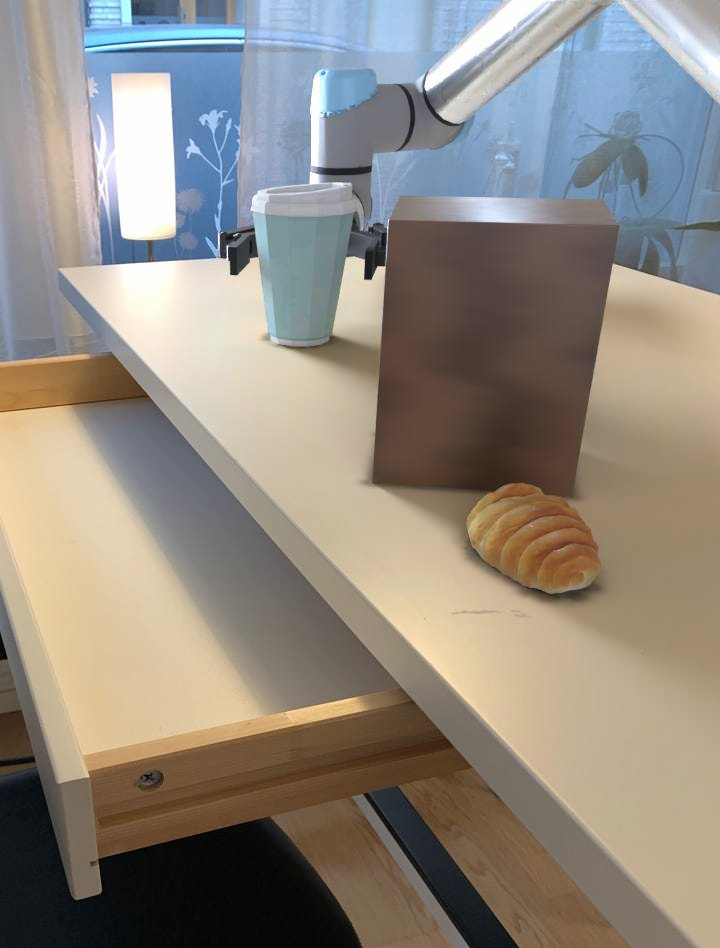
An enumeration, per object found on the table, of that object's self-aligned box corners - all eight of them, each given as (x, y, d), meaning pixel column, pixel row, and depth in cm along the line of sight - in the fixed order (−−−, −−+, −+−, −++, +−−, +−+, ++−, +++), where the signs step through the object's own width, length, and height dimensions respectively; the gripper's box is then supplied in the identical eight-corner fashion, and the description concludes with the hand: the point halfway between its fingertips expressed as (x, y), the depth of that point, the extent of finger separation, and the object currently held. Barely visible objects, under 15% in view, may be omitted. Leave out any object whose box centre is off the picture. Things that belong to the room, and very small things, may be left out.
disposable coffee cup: (236, 349, 104) (234, 189, 96) (267, 322, 112) (267, 174, 104) (338, 357, 101) (344, 193, 93) (361, 329, 109) (369, 177, 101)
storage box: (553, 390, 91) (587, 171, 82) (571, 498, 71) (619, 225, 62) (396, 382, 94) (412, 169, 84) (372, 484, 74) (388, 220, 64)
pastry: (628, 591, 60) (640, 533, 58) (524, 610, 58) (533, 550, 56) (544, 526, 67) (552, 472, 65) (451, 540, 66) (457, 486, 64)
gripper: (433, 262, 119) (423, 306, 101) (225, 255, 123) (180, 297, 105) (439, 192, 115) (430, 226, 97) (224, 188, 119) (177, 220, 102)
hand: (300, 263), depth 101 cm, fingers open, 13 cm apart
